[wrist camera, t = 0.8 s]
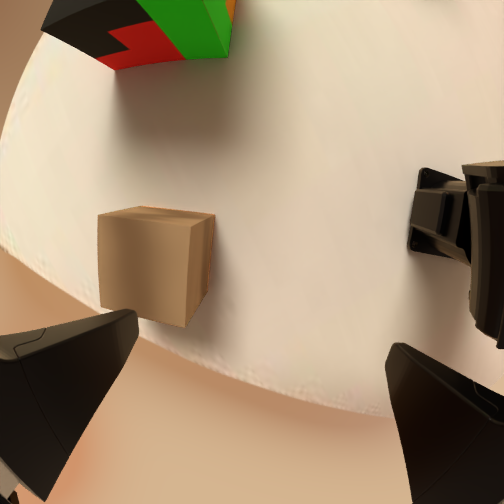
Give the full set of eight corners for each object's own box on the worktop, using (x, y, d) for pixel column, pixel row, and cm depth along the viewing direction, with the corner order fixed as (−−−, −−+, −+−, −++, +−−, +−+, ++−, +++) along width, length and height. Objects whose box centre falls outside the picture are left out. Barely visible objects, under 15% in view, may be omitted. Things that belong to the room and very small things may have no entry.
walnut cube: (215, 214, 20) (190, 226, 14) (207, 291, 21) (185, 327, 16) (141, 205, 20) (97, 215, 14) (139, 278, 22) (100, 306, 16)
